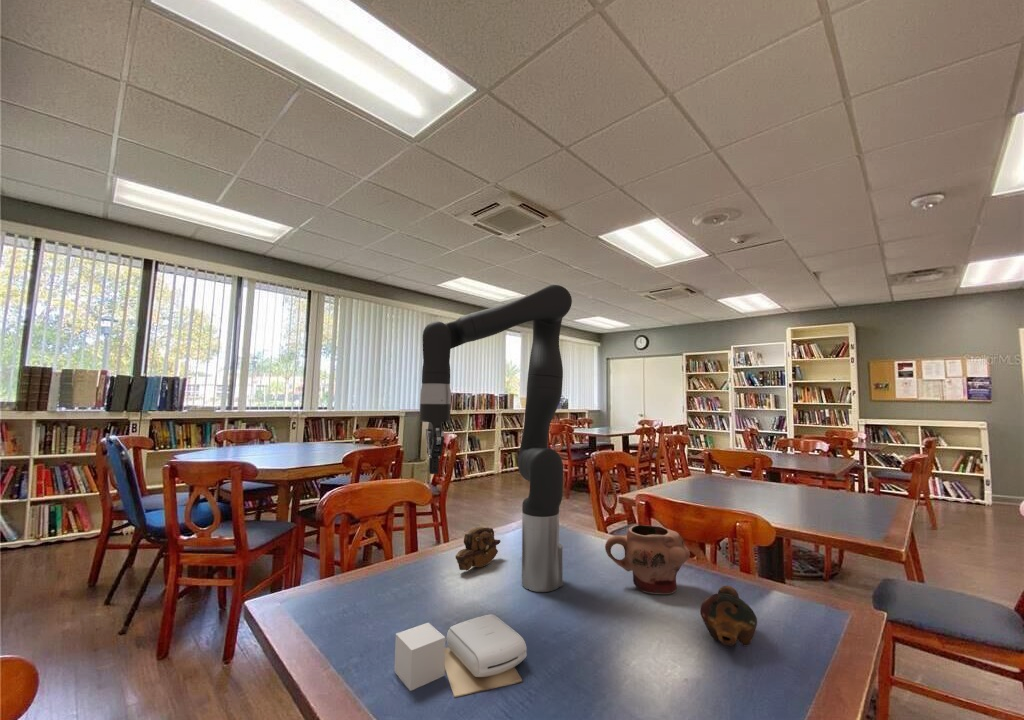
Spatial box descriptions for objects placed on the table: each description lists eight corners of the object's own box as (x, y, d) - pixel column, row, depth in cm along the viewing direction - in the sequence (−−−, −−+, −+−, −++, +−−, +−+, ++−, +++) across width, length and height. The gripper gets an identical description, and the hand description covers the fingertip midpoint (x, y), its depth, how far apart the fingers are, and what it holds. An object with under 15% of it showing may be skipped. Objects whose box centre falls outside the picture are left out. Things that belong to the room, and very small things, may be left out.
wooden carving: (467, 578, 107) (468, 538, 108) (453, 575, 109) (454, 534, 110) (503, 559, 120) (503, 522, 121) (490, 555, 123) (490, 520, 124)
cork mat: (497, 639, 79) (497, 637, 79) (522, 681, 67) (522, 680, 67) (438, 650, 76) (438, 648, 76) (454, 697, 63) (454, 696, 63)
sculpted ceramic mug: (611, 598, 96) (610, 535, 98) (601, 576, 108) (600, 521, 110) (699, 600, 96) (697, 536, 97) (679, 578, 108) (678, 522, 110)
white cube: (394, 672, 69) (395, 633, 70) (427, 659, 73) (428, 622, 74) (410, 691, 65) (411, 650, 65) (444, 676, 69) (445, 637, 69)
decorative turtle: (753, 626, 85) (751, 585, 85) (764, 669, 71) (761, 619, 72) (701, 616, 89) (699, 576, 89) (701, 655, 75) (699, 607, 76)
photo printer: (494, 610, 81) (532, 640, 71) (494, 633, 81) (532, 667, 71) (445, 624, 76) (479, 659, 65) (445, 650, 75) (478, 689, 65)
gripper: (456, 402, 100) (454, 477, 98) (445, 402, 112) (443, 468, 111) (424, 402, 97) (421, 478, 96) (416, 402, 110) (414, 470, 108)
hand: (433, 473), depth 103 cm, fingers closed
